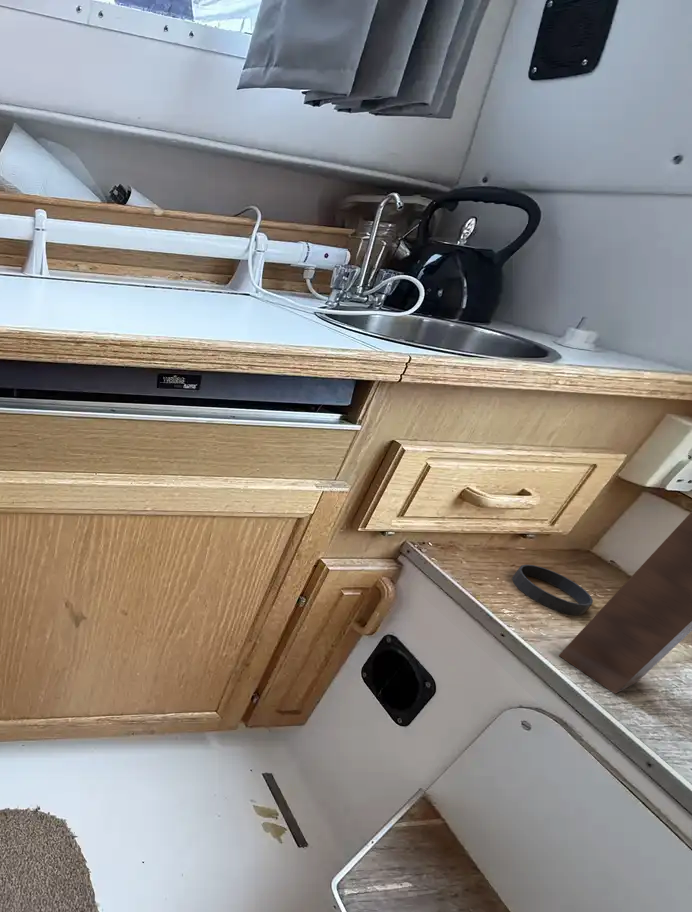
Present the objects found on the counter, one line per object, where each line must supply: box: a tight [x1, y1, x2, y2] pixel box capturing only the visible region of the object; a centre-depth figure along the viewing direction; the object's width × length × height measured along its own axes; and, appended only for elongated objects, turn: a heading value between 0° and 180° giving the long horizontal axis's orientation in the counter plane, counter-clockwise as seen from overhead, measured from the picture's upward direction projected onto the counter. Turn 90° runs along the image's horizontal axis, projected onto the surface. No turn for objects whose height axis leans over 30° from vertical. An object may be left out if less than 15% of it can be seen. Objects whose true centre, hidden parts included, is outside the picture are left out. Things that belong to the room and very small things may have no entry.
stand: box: [558, 511, 692, 695], centre depth 64 cm, size 6×6×32 cm
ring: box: [511, 564, 594, 616], centre depth 86 cm, size 9×9×2 cm
